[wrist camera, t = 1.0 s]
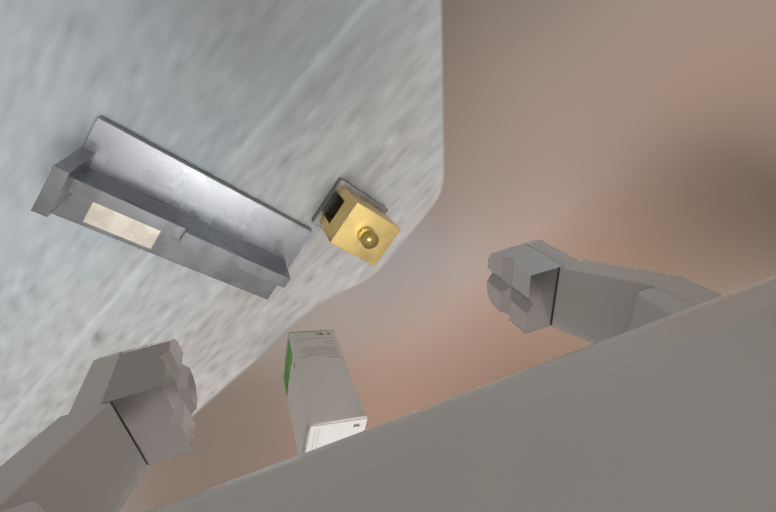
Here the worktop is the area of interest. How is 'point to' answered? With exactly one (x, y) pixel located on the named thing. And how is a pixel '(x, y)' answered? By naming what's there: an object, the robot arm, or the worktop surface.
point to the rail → (172, 210)
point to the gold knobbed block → (360, 228)
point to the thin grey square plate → (340, 201)
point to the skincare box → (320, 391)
